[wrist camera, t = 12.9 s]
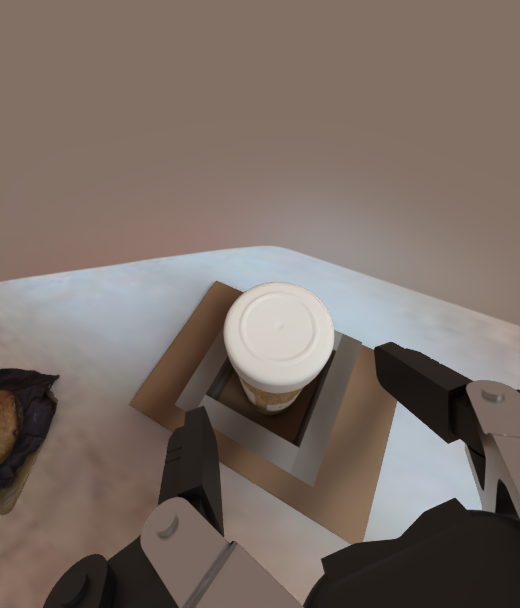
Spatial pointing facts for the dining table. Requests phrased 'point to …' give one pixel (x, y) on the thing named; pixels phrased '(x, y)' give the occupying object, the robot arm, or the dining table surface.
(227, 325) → the sprinkles bottle
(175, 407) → the collar board
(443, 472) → the dining table surface
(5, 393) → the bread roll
